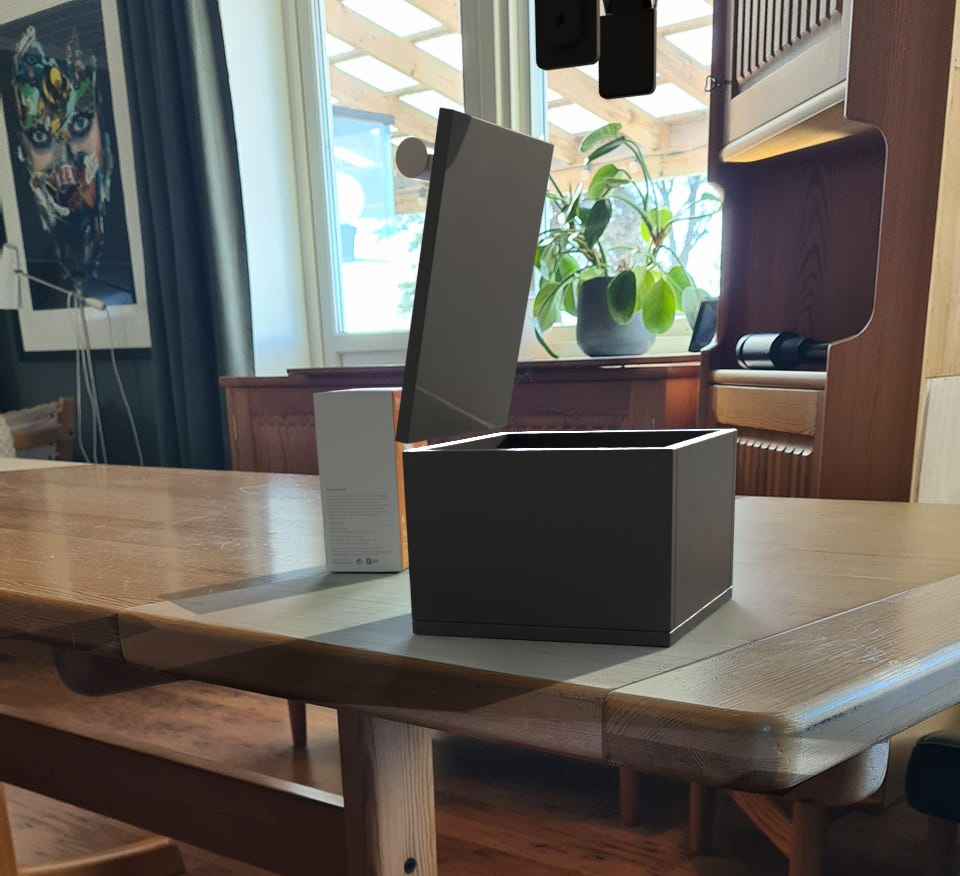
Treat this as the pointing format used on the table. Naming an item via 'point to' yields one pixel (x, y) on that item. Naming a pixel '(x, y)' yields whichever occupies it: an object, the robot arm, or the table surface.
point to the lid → (470, 273)
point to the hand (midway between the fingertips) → (599, 82)
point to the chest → (571, 534)
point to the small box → (362, 479)
